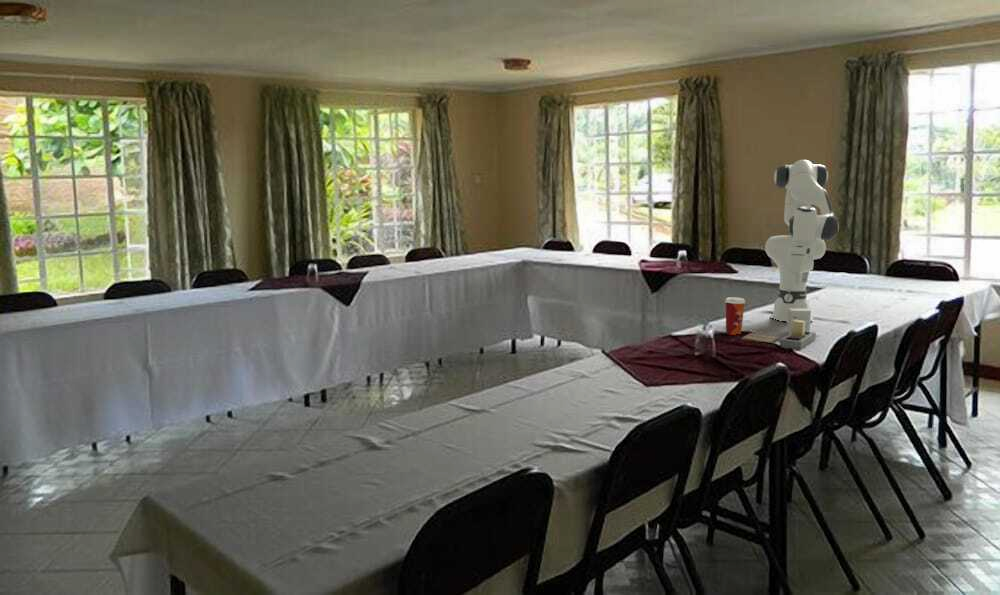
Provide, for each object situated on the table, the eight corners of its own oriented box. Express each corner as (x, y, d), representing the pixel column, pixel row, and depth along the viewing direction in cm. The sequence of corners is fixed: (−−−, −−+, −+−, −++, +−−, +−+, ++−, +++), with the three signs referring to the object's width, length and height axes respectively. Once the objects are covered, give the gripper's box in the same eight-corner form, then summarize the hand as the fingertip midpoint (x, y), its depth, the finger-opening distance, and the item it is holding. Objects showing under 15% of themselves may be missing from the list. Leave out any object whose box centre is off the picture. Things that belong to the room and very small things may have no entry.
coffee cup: (739, 336, 321) (741, 300, 319) (720, 334, 326) (722, 298, 324) (746, 333, 328) (748, 298, 325) (727, 330, 333) (729, 296, 330)
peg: (793, 341, 312) (795, 319, 310) (804, 343, 309) (805, 320, 308) (791, 343, 308) (792, 321, 307) (801, 344, 306) (803, 322, 305)
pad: (750, 335, 324) (751, 332, 323) (780, 338, 317) (780, 336, 316) (741, 340, 314) (741, 337, 314) (771, 344, 307) (771, 341, 307)
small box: (805, 332, 329) (807, 308, 328) (809, 335, 324) (811, 310, 322) (786, 332, 330) (787, 307, 328) (789, 335, 325) (791, 310, 323)
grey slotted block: (795, 337, 320) (795, 330, 319) (815, 339, 315) (815, 332, 315) (779, 346, 302) (779, 339, 302) (800, 349, 298) (801, 342, 297)
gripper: (802, 246, 313) (800, 280, 315) (787, 249, 297) (785, 285, 299) (818, 247, 310) (816, 281, 312) (804, 250, 293) (802, 286, 295)
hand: (801, 283), depth 305 cm, fingers open, 8 cm apart
